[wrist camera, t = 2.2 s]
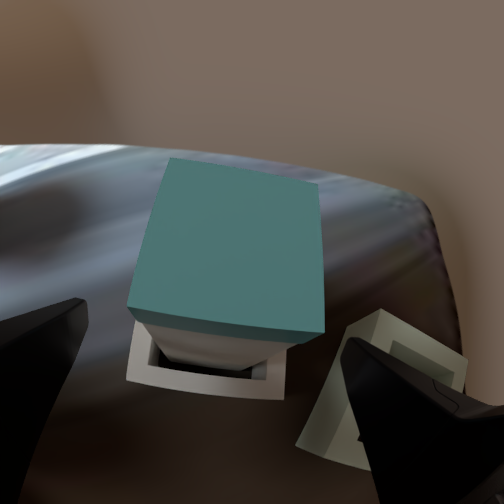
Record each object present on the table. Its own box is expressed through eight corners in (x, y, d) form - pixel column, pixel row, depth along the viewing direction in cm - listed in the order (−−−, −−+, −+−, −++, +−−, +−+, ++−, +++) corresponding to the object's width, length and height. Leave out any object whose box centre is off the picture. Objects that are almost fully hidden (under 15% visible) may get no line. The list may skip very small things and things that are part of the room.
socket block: (394, 474, 15) (433, 481, 11) (294, 445, 16) (323, 457, 12) (430, 370, 20) (468, 359, 16) (347, 326, 20) (380, 308, 16)
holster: (265, 398, 17) (283, 400, 13) (139, 382, 16) (125, 379, 12) (271, 285, 21) (289, 261, 17) (160, 268, 20) (154, 239, 16)
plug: (241, 371, 17) (324, 332, 7) (169, 362, 17) (126, 306, 6) (246, 305, 20) (317, 184, 9) (179, 295, 19) (170, 157, 8)
